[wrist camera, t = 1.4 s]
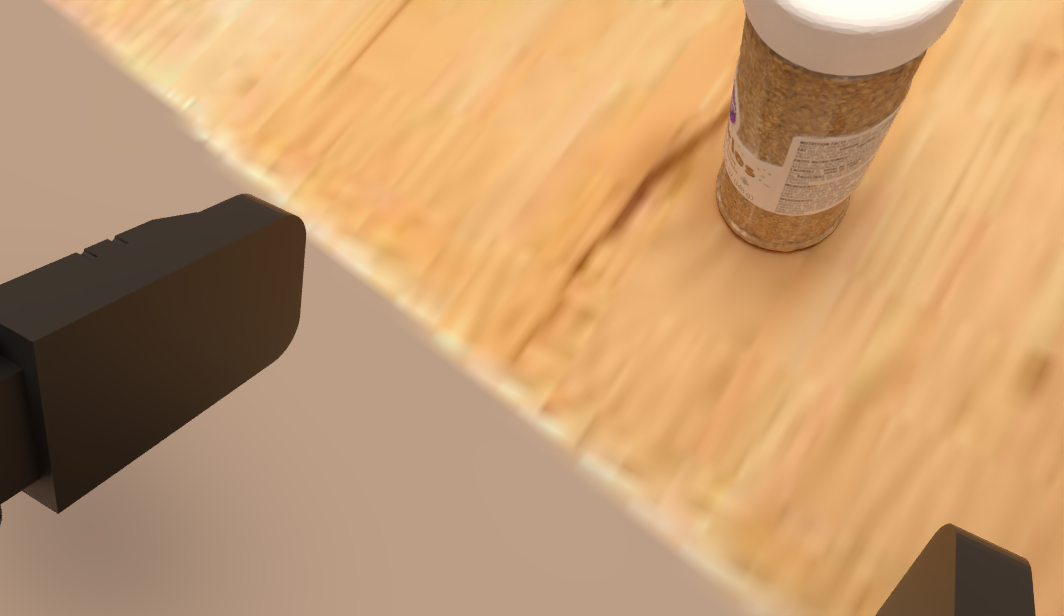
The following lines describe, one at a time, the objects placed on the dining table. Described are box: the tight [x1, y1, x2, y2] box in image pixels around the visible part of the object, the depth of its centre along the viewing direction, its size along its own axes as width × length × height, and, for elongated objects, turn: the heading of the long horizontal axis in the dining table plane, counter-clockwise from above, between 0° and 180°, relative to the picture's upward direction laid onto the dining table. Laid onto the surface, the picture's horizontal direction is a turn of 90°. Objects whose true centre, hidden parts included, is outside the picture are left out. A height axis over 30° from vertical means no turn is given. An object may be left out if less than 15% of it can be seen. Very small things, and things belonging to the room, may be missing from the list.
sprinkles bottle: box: [716, 0, 963, 252], centre depth 22 cm, size 5×5×13 cm
